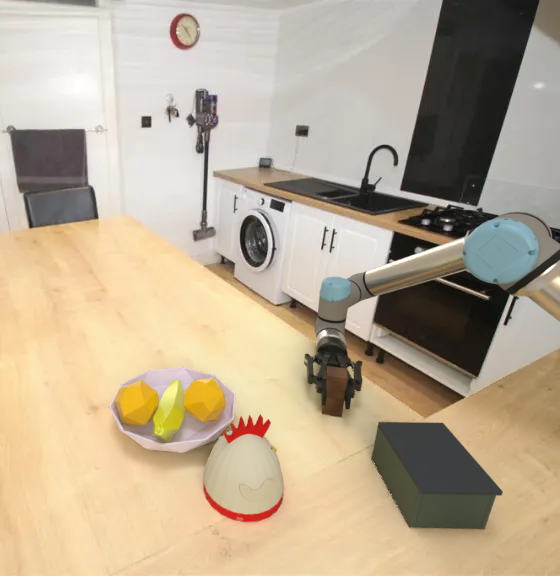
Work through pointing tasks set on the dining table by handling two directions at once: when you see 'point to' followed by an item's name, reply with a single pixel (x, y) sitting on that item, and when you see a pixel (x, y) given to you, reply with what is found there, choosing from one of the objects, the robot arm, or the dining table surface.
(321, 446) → the dining table surface
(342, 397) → the block
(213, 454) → the kitchen timer
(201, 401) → the fruit bowl
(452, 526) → the dark green tray box
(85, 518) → the dining table surface
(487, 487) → the dark grey flat panel
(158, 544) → the dining table surface
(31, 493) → the dining table surface
